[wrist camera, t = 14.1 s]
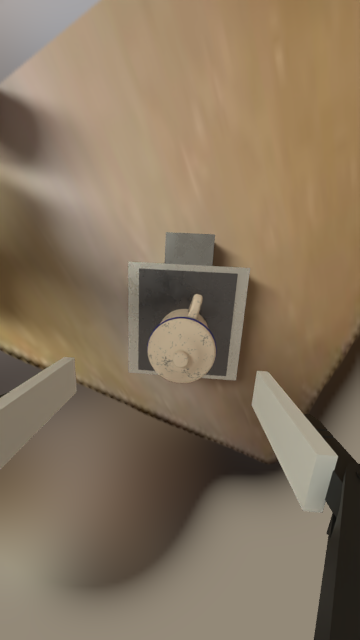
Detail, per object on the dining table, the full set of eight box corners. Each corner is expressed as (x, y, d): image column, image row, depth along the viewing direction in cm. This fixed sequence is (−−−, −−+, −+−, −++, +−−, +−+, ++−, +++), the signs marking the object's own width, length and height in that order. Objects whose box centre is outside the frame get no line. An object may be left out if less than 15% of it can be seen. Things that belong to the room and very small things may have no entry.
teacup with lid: (199, 364, 35) (204, 405, 24) (151, 348, 35) (132, 382, 23) (223, 300, 32) (242, 312, 21) (171, 283, 32) (161, 286, 21)
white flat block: (137, 359, 43) (127, 373, 36) (137, 236, 37) (126, 228, 31) (229, 366, 42) (236, 382, 35) (244, 241, 36) (255, 234, 30)
